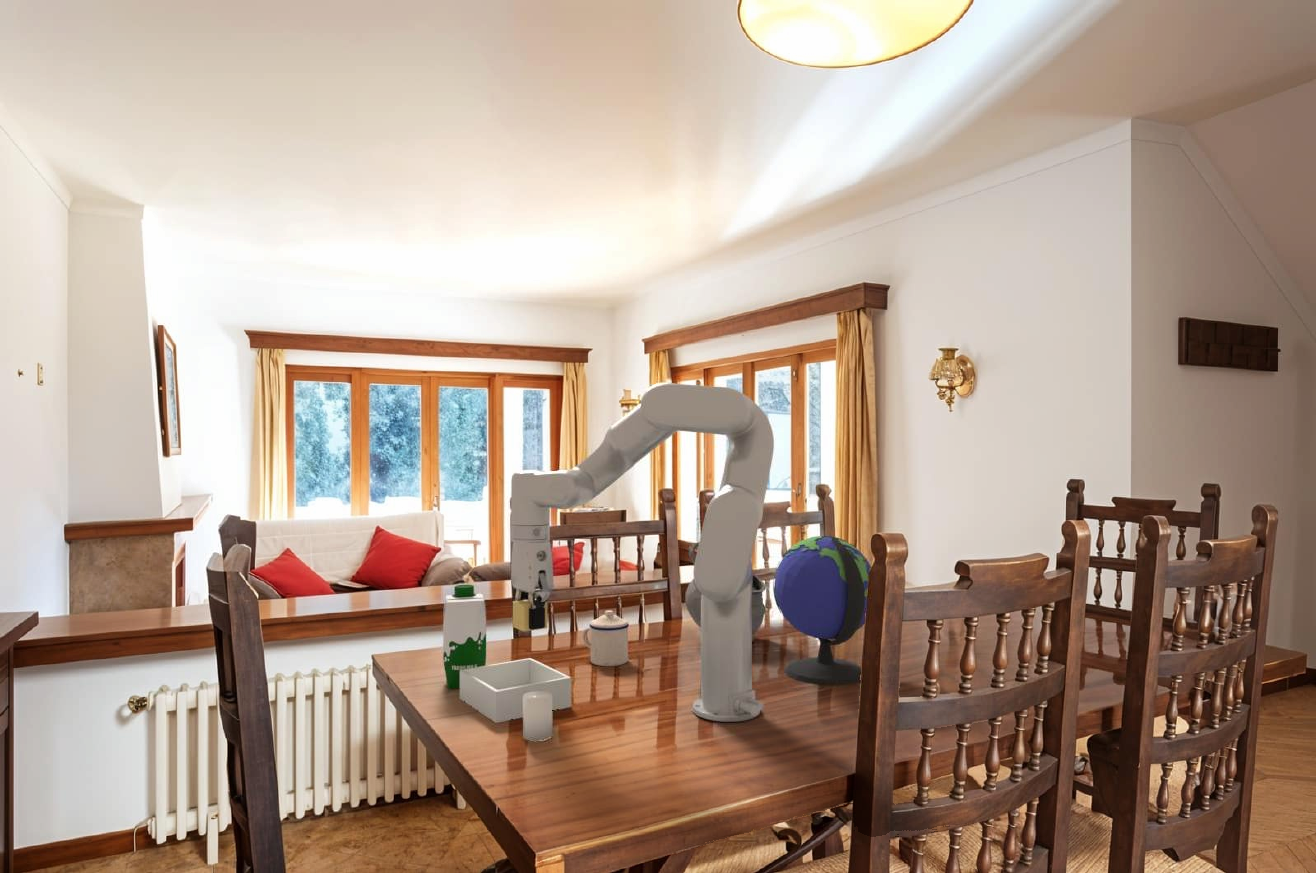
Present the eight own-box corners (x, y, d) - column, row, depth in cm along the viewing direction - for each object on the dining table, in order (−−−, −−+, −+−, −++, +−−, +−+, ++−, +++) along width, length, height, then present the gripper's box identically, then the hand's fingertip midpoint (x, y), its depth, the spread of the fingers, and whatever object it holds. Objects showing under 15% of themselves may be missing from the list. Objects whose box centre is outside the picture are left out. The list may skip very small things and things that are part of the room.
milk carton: (484, 675, 174) (484, 583, 175) (487, 687, 166) (487, 590, 166) (442, 679, 172) (442, 585, 172) (443, 691, 163) (443, 592, 164)
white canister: (557, 737, 137) (557, 696, 137) (531, 744, 134) (530, 702, 134) (544, 729, 141) (544, 689, 141) (518, 735, 138) (518, 694, 138)
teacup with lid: (636, 660, 187) (636, 609, 187) (613, 669, 179) (613, 616, 179) (595, 653, 193) (595, 604, 193) (571, 661, 186) (571, 611, 186)
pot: (671, 636, 210) (671, 540, 210) (740, 628, 218) (739, 536, 219) (709, 655, 191) (709, 549, 191) (782, 645, 200) (782, 544, 200)
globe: (892, 669, 178) (891, 533, 179) (856, 694, 160) (855, 544, 160) (799, 654, 191) (798, 528, 191) (756, 677, 173) (755, 537, 173)
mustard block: (547, 628, 157) (547, 602, 158) (523, 631, 155) (523, 605, 155) (535, 623, 162) (535, 598, 162) (512, 626, 159) (512, 601, 159)
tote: (571, 707, 153) (571, 677, 153) (495, 723, 144) (495, 691, 144) (530, 685, 167) (530, 658, 168) (459, 698, 159) (459, 670, 159)
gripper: (568, 536, 154) (568, 631, 153) (528, 528, 167) (528, 616, 167) (532, 538, 149) (532, 637, 149) (495, 530, 163) (494, 620, 163)
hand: (530, 624), depth 158 cm, fingers closed on mustard block, 5 cm apart
